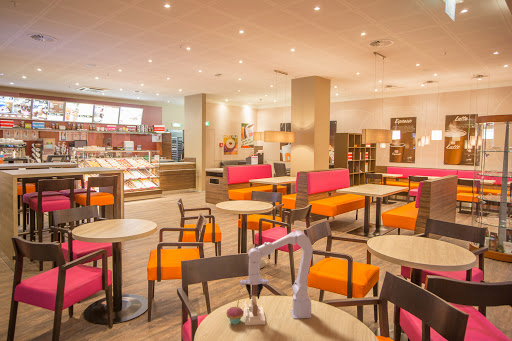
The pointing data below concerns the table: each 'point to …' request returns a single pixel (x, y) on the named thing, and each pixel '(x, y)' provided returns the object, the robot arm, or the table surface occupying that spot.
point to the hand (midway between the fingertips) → (254, 298)
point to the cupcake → (235, 314)
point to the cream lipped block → (253, 319)
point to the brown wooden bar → (254, 305)
